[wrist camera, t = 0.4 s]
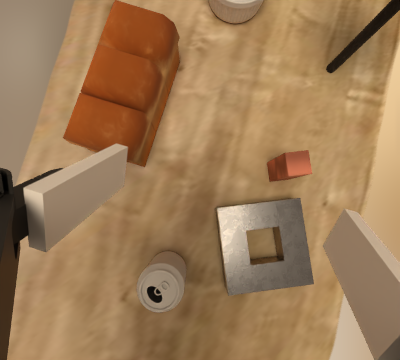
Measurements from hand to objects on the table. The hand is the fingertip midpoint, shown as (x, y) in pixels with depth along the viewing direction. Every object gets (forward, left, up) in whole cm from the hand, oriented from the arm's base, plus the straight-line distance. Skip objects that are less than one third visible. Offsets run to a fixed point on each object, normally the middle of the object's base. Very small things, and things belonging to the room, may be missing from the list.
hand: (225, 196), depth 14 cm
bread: (+22, +12, -35) cm, 43 cm away
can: (-13, +9, -35) cm, 38 cm away
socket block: (-10, -10, -35) cm, 38 cm away
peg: (+4, -16, -35) cm, 39 cm away
